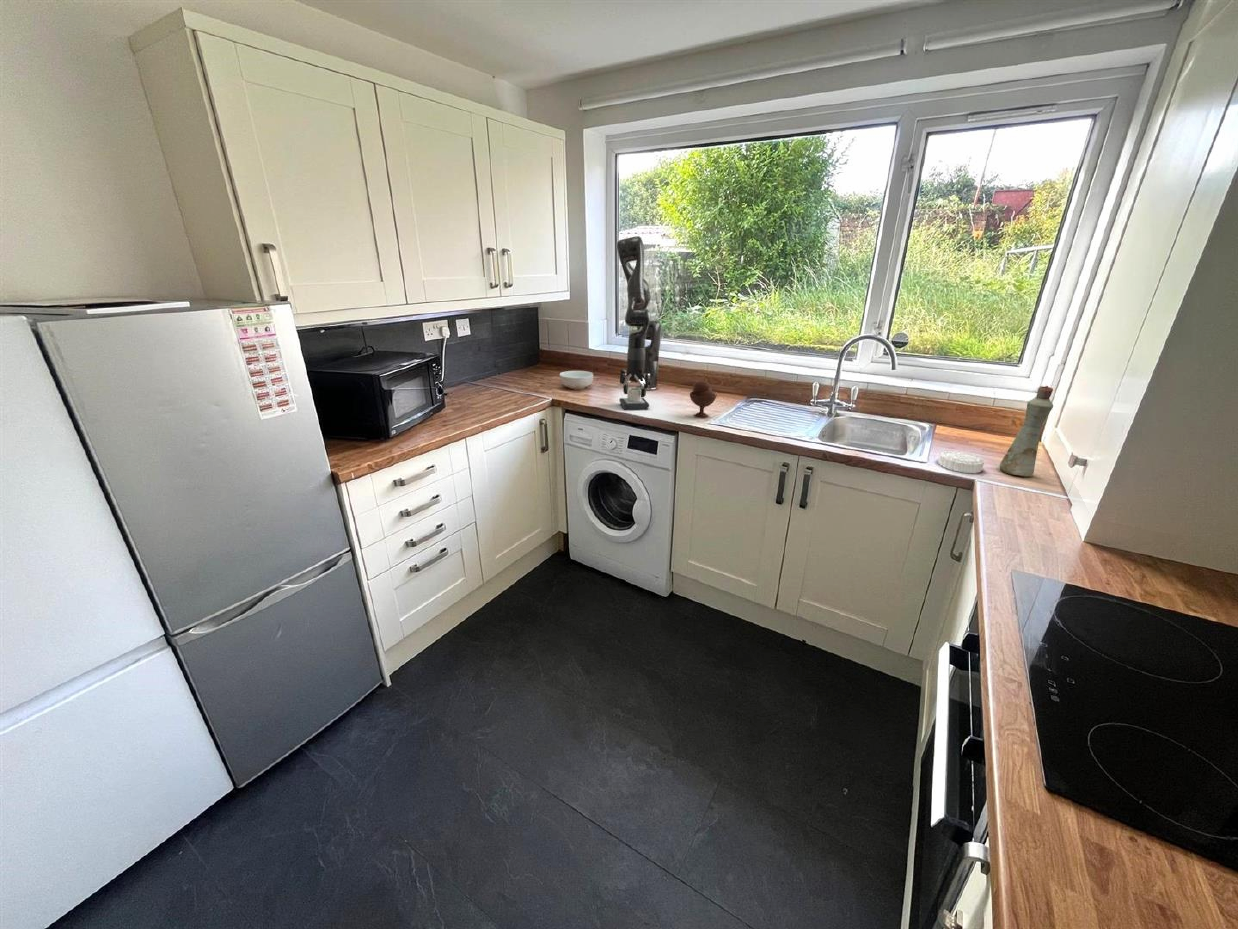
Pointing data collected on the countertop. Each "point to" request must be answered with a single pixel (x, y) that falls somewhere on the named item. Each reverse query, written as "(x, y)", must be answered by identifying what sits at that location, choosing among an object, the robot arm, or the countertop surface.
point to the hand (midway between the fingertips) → (634, 395)
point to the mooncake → (961, 462)
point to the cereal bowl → (576, 379)
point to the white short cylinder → (634, 394)
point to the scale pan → (633, 402)
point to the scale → (634, 405)
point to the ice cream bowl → (702, 397)
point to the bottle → (1028, 436)
